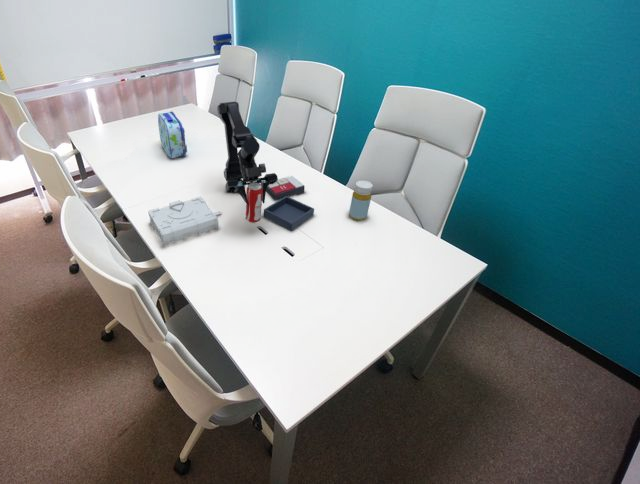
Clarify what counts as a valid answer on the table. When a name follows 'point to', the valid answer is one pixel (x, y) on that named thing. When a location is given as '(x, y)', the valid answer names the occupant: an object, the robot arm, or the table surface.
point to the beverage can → (254, 202)
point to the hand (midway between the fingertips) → (256, 204)
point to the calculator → (285, 188)
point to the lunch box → (172, 135)
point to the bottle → (360, 200)
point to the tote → (288, 213)
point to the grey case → (183, 220)
